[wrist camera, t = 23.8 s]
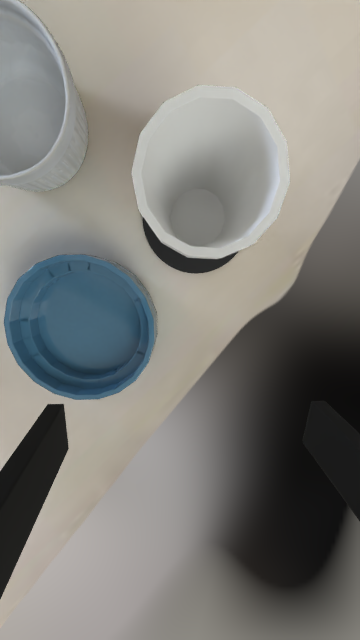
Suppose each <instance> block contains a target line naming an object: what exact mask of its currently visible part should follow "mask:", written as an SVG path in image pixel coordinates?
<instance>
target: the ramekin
mask: <svg viewBox="0 0 360 640" xmlns="http://www.w3.org/2000/svg"><path fill="white" fill-rule="evenodd" d="M87 144H88V123H87V120H86V114H85V111H84V108H83V104H82V101H81V99H80V96H79V94H78V92H77V90H76V87H75V85H74V83H73V79H72V75H71V72H70V69H69V66H68V64H67V61H66V59H65V57H64V55H63V53H62V51H61V49H60V47H59V46H58V44H57V42H56V41H55V39H54V38H53V36H52V34H51V33H50V32H49V30H48V29H47V27H46V26H45V25H44V23H43V22H42V21H41V20H40V19H39V17H38V16H37V15H36V14H35V13H34V12H33V11H32V10H30V9H29V8H28V7H27V6H26V5H25V4H23V3H22V2H20V1H19V0H0V185H7V186H11V187H15V188H19V189H22V190H27V191H34V192H38V191H46V190H52V189H55V188H58V187H60V186H62V185H64V184H65V183H66V182H68V181H69V180H70V179H71V178H72V177H73V176H74V175H75V174H76V172H77V171H78V170H79V168H80V166H81V165H82V162H83V160H84V158H85V154H86V151H87Z"/></svg>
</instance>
